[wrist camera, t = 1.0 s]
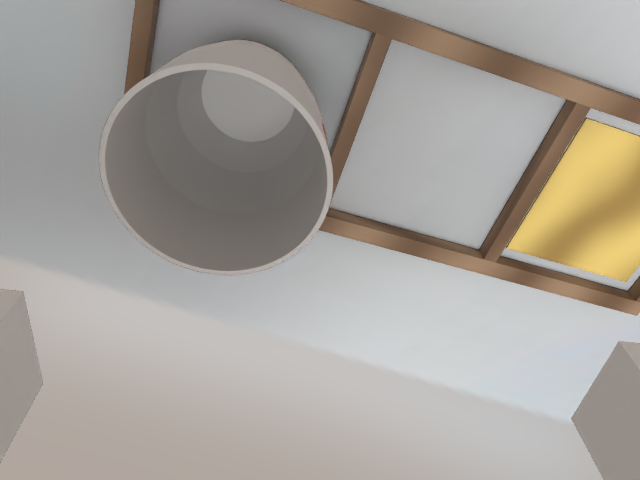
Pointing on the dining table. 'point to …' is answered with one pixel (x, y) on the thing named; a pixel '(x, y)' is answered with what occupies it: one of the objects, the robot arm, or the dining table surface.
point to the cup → (219, 160)
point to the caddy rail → (552, 202)
